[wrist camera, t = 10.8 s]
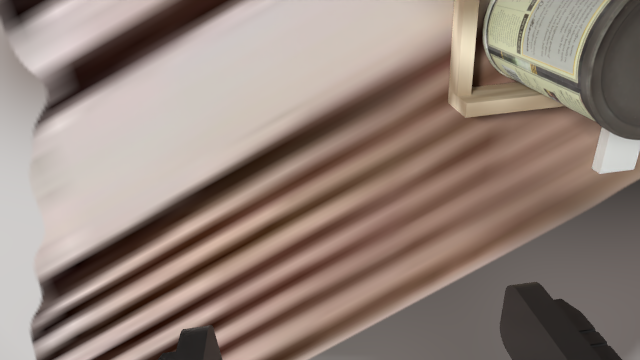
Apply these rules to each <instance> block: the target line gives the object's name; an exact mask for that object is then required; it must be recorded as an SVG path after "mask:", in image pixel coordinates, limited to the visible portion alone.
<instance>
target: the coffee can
mask: <svg viewBox="0 0 640 360" xmlns="http://www.w3.org/2000/svg"><path fill="white" fill-rule="evenodd" d="M483 45H484V49H485V52H486V55H487V57H488V59H489V61H490V63H491V64H492V65H493V66H494V68H495V69H496V70H497V71H499V72H500V73H501V74H503V75H504V76H506V77H508V78H511V79H513V80H516V81H518V82H520V83H522V84H523V85H526V86H527V87H529V88H531V89H533V90H535V91H537V92H539V93H541V94H543V95H545V96H547V97H549V98H551V99H553V100H555V101H557V102H559V103H561V104H563V105H565V106H566V107H568V108H570V109H572V110H574V111H576V112H578V113H580V114H582V115H584V116H586V117H588V118H590V119H592V120H594V121H596V122H597V123H598V124H599V125H600V126H602V127H603V128H604V129H606V130H607V131H609V132H611V133H612V134H614V135H617V136H619V137H622V138H625V139H631V140H640V0H491V1H490V3H489V6H488V8H487V11H486V14H485V17H484V25H483Z"/></svg>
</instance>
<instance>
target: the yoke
mask: <svg viewBox="0 0 640 360" xmlns="http://www.w3.org/2000/svg"><path fill="white" fill-rule="evenodd" d="M478 9H479V0H454V14H453V30H452V46H451V63H450V79H449V96H448V103H449V104H450V105H451V106H453V107H454V108H455V109H456V110H457V111H458V112H460V113H461V114H462V115H463V116H464V117H465V118H467V117H475V116H484V115H492V114H501V113H510V112H518V111H527V110H535V109H544V108H552V107H561V106H565V105H563V104H561V103H559V102H557V101H555V100H553V99H551V98H549V97H547V96H545V95H543V94H541V93H539V92H537V91H535V90H533V89H531V88H529V87H527V86H526V85H523V84H522V83H520V82H514V83H505V84H496V85H487V86H478V87H472V78H473V67H474V55H475V44H476V32H477V20H478Z"/></svg>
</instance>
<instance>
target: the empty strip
mask: <svg viewBox="0 0 640 360" xmlns="http://www.w3.org/2000/svg"><path fill="white" fill-rule="evenodd" d="M639 151H640V140H631V139H625V138H622V137H619V136H617V135H614V134H612V133H611V132H609V131H607V130H606V129H604V128H603V127H602V129H601V133H600V137H599V141H598V145H597V149H596V153H595V157H594V161H593V165H592V169H593V170H595V171H596V172H598V173H599V174H602V173H610V172H617V171H625V170H633V169H634V168H635V164H636V161H637V158H638V154H639Z"/></svg>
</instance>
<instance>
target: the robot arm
mask: <svg viewBox="0 0 640 360" xmlns="http://www.w3.org/2000/svg"><path fill="white" fill-rule="evenodd" d="M500 333H501V338H502V341H503V344H504V346H505V348H506V350H507V352H508V353H509V355H510V357H511V358H512V360H622V359H621V358H620V357H619V356H618V355H617V353H616V352H615V351H614V350H613V349H612V348H611V346H608V345H607V342H606V341H605V339H604V338H603V337H602V336H601V335H600V334H599V332H596V331H595V328H594V327H593V325H592V324H591V323H590V322H589V321H588V320H587V318H586V317H585V316H584V315H583V314H582V313H581V312H580V311H579V310H577V309H576V308H574V307H573V306H571V305H569V304H568V303H567V302H565V301H564V300H562V299H556V300H553V299H552V298H551V297H550V295H549V294H548V293H547V292H546V290H545V289H544V288H543V287H542V286H541V285H540V284H539V283H537V282H532V283H524V284H517V285H510V286H508V287H507V288H506V291H505V297H504V303H503V309H502V315H501V321H500ZM158 360H222V357H221V354H220V350H219V346H218V343H217V339H216V336H215V332H214V329H213V327H212V326H204V327H196V328H189V329H183V330H182V331H181V334H180V338H179V342H178V346H177V350H176V352H169V353H163V354H162V355H161V356H160V358H159V359H158Z"/></svg>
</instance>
